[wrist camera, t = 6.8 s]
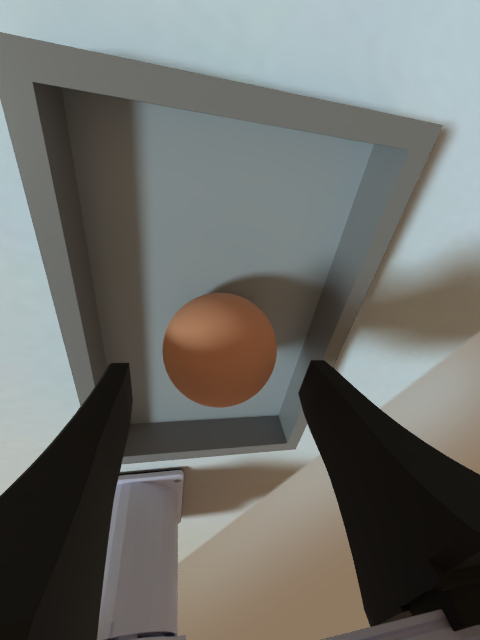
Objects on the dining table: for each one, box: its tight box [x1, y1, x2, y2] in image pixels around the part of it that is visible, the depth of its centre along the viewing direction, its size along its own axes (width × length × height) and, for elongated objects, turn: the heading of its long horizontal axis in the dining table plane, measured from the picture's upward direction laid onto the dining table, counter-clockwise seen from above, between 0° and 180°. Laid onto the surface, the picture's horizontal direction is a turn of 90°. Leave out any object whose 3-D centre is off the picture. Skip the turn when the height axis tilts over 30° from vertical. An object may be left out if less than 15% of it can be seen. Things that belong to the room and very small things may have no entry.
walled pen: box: [0, 32, 443, 464], centre depth 14 cm, size 19×13×2 cm
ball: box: [162, 293, 277, 408], centre depth 13 cm, size 5×5×5 cm
